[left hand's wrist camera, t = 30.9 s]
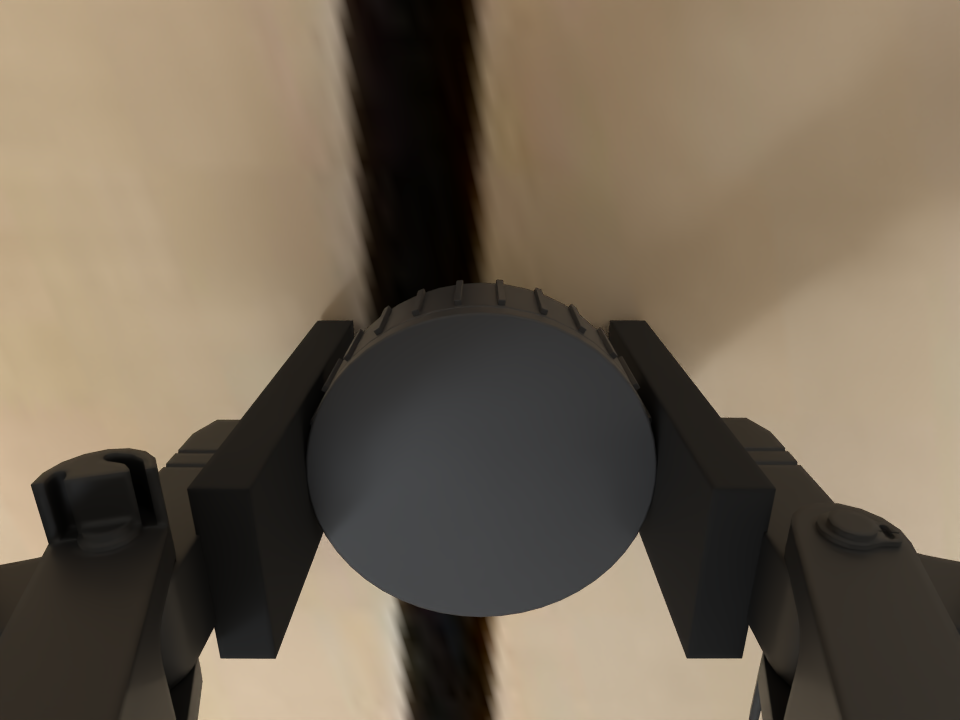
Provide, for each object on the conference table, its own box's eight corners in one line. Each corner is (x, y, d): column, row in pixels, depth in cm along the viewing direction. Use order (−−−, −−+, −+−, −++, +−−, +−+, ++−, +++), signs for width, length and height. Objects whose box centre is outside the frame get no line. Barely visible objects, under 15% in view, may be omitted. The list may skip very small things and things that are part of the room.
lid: (695, 352, 11) (731, 393, 10) (555, 591, 13) (565, 659, 12) (388, 224, 10) (370, 245, 9) (287, 500, 12) (257, 560, 11)
